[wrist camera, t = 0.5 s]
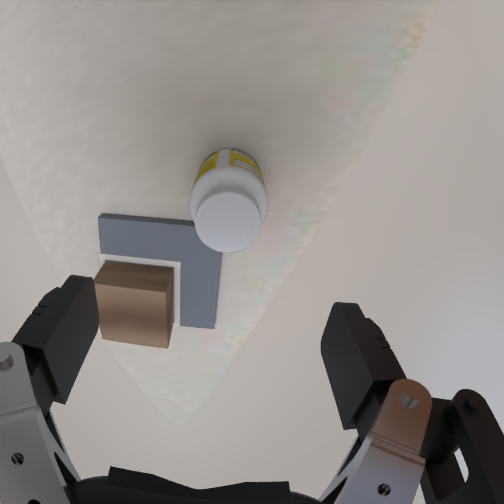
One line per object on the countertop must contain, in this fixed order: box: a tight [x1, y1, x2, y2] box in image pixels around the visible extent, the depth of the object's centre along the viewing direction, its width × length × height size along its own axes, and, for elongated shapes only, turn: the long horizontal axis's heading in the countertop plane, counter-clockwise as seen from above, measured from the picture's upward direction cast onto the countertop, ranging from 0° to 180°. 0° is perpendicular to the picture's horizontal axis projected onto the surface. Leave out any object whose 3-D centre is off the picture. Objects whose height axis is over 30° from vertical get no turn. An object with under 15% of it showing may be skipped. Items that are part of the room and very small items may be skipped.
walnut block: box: [94, 261, 173, 349], centre depth 30 cm, size 7×7×4 cm
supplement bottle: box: [189, 148, 268, 253], centre depth 23 cm, size 5×5×10 cm
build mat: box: [98, 214, 222, 329], centre depth 31 cm, size 12×12×1 cm
